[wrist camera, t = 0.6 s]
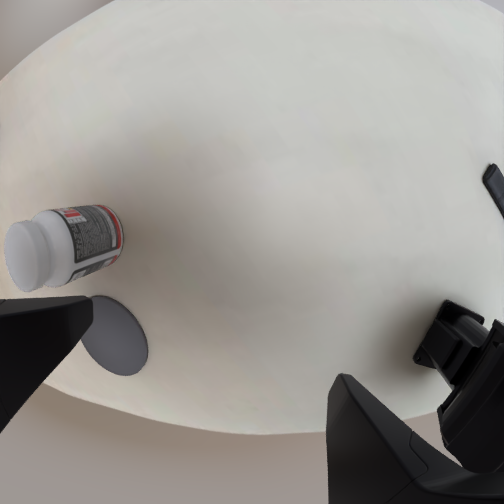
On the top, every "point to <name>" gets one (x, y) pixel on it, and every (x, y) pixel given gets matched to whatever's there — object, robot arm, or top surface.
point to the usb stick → (495, 185)
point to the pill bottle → (62, 246)
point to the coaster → (115, 338)
